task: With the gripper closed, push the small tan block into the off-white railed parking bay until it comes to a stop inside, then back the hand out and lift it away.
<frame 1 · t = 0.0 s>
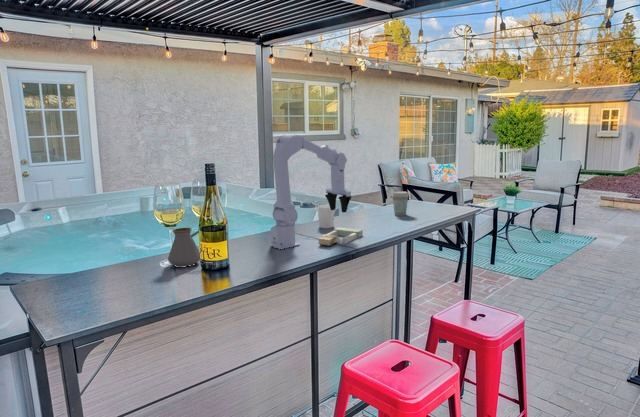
hand: (338, 210, 188), 10 cm above the table, tool pointing down, fingers open, 7 cm apart
white cup: (326, 227, 203), on the table
parking bay: (339, 239, 179), on the table
tan block: (328, 244, 172), on the table
coffee cup: (400, 215, 224), on the table
coffee pot: (198, 262, 156), on the table
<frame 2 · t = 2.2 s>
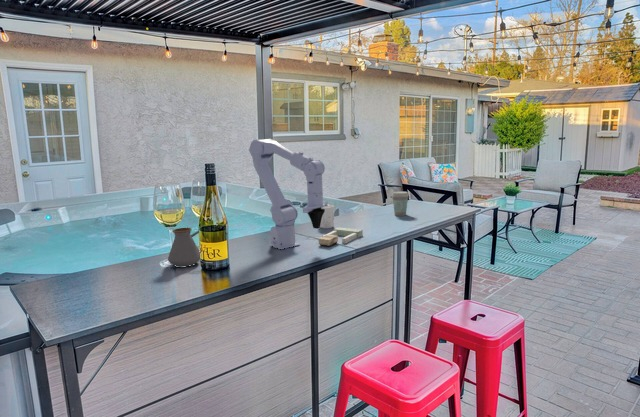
hand: (316, 228, 163), 9 cm above the table, tool pointing down, fingers closed
nothing on the table moved.
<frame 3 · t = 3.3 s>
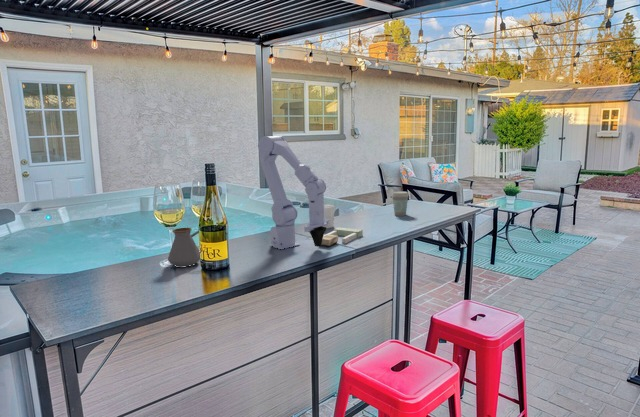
hand: (317, 246, 165), 1 cm above the table, tool pointing down, fingers closed
nothing on the table moved.
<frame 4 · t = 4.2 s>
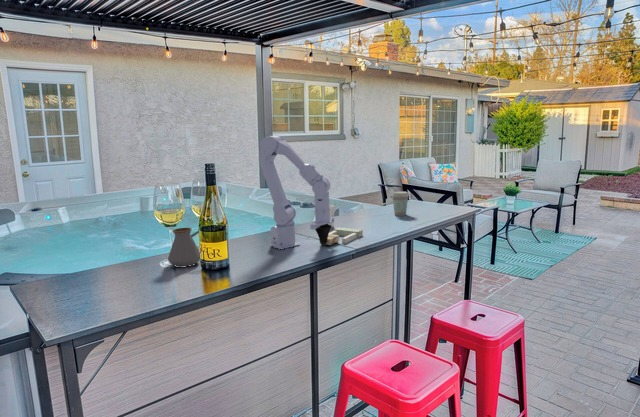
hand: (323, 243, 168), 1 cm above the table, tool pointing down, fingers closed
tan block: (329, 244, 173), on the table, touching gripper
everything else where it was.
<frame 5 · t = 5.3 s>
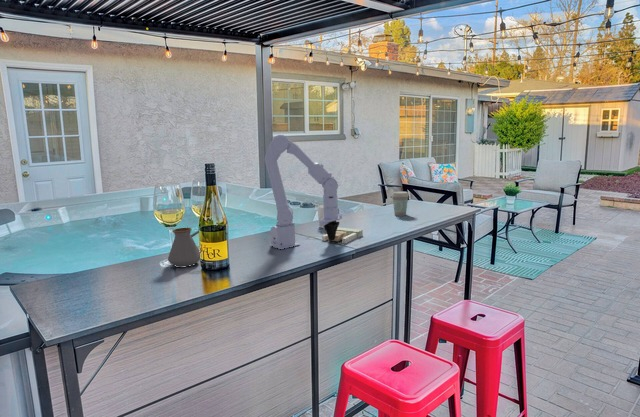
hand: (331, 239, 174), 1 cm above the table, tool pointing down, fingers closed
tan block: (337, 240, 178), on the table, touching gripper
everything else where it was.
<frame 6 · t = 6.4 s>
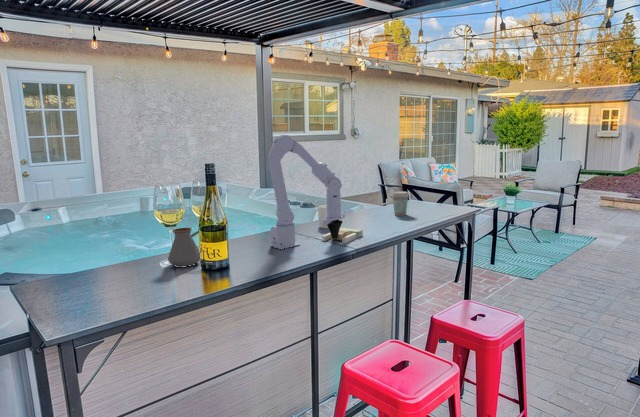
hand: (334, 238, 176), 1 cm above the table, tool pointing down, fingers closed
tan block: (340, 238, 180), on the table, touching gripper
everything else where it was.
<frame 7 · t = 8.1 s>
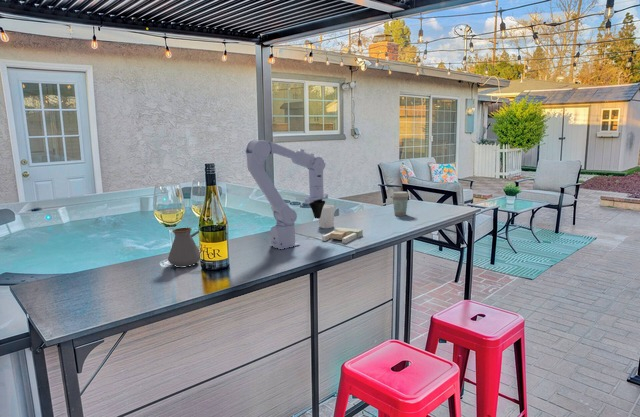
hand: (317, 218, 178), 9 cm above the table, tool pointing down, fingers closed
tan block: (340, 238, 180), on the table
everything else where it was.
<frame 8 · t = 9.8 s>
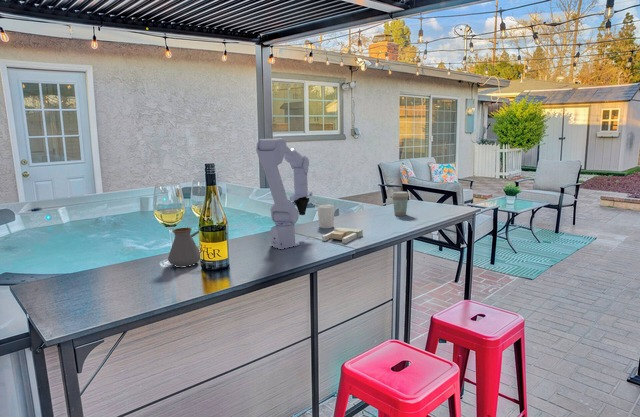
hand: (302, 214, 186), 9 cm above the table, tool pointing down, fingers closed
nothing on the table moved.
at the end: tan block 0.5 cm off-centre on the parking bay, point 0.0 cm above the parking bay's base; tan block tilted 0°; the gripper is holding nothing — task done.
